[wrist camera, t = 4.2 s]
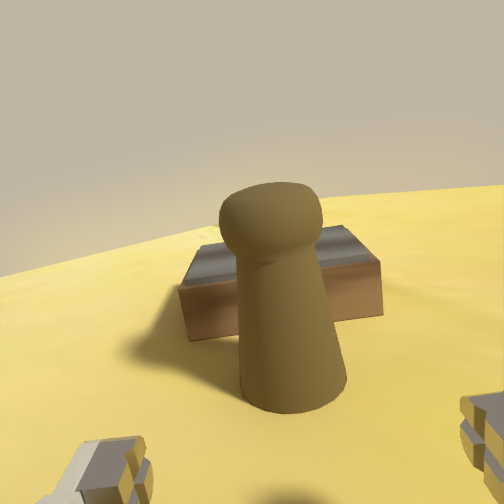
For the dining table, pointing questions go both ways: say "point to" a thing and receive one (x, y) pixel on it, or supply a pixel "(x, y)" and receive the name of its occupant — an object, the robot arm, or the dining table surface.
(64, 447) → the dining table surface
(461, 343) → the dining table surface
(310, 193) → the brown chess pawn
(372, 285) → the walnut riser
